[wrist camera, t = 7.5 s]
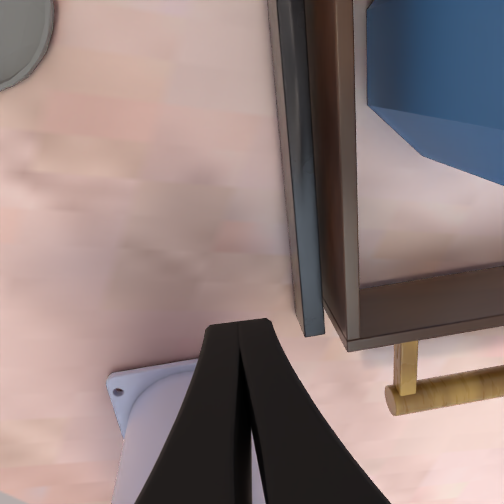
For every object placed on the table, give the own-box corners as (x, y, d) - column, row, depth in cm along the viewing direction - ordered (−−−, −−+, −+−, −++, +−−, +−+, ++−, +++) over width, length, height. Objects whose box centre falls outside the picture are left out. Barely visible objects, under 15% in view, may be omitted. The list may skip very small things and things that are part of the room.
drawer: (555, 339, 24) (619, 387, 20) (326, 379, 23) (350, 436, 20) (647, -130, 16) (784, -192, 12) (297, -91, 15) (328, -145, 11)
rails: (585, 268, 23) (618, 285, 21) (296, 316, 22) (304, 338, 20) (731, -419, 13) (816, -499, 11) (231, -384, 12) (237, -463, 11)
